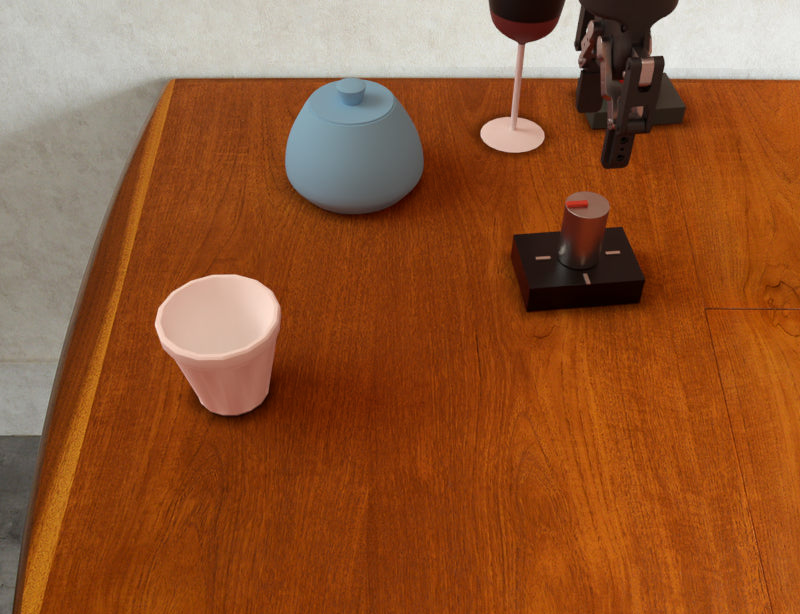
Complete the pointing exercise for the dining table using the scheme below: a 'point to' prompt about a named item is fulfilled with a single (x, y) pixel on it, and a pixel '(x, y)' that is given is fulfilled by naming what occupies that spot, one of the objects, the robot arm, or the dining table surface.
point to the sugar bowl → (353, 148)
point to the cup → (222, 339)
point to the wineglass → (520, 67)
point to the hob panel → (575, 273)
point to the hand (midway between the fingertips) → (600, 137)
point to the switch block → (666, 108)
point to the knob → (583, 230)
